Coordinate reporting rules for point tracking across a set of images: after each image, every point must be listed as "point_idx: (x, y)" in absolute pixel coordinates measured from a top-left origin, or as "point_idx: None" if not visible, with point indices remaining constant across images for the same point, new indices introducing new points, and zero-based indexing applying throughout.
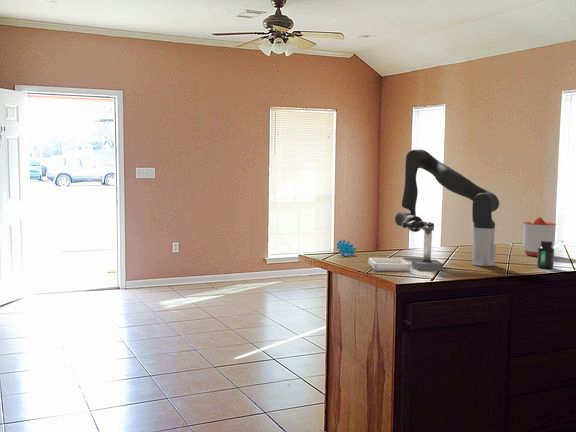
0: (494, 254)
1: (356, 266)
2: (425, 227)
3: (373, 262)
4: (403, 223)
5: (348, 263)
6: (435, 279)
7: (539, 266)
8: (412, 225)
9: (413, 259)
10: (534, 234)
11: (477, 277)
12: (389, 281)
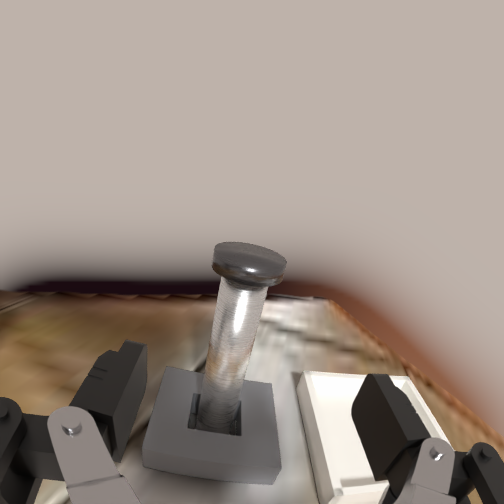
0: None
1: (463, 441)
2: (273, 251)
3: (418, 392)
4: (495, 471)
5: None
6: None
7: None
8: (369, 379)
9: (271, 467)
10: None
11: (121, 305)
12: (343, 312)
